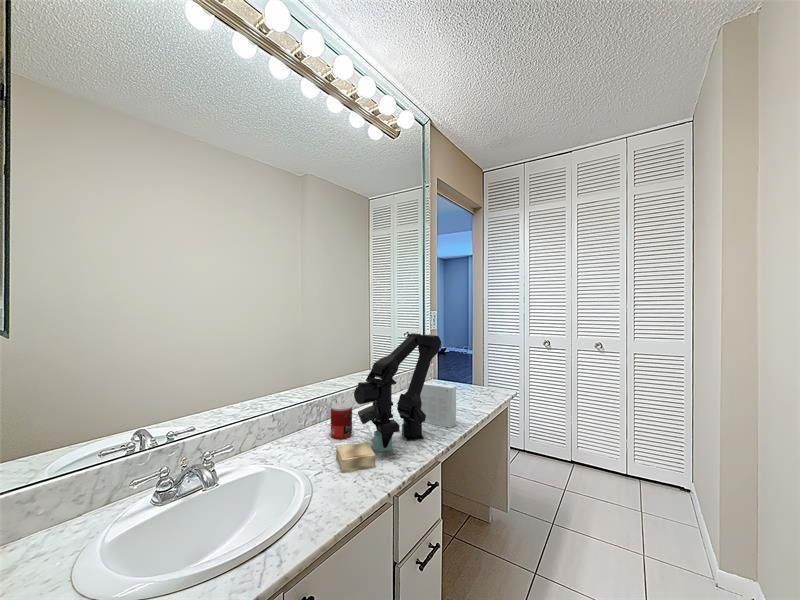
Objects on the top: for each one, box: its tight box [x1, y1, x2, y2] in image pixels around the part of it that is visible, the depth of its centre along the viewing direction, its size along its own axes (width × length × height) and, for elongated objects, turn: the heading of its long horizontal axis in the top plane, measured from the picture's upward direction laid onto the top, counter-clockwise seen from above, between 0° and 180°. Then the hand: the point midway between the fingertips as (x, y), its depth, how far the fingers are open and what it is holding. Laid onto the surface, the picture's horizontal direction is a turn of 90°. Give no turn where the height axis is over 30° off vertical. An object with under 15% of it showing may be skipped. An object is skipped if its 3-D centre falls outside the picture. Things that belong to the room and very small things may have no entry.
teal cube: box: [373, 430, 393, 452], centre depth 114 cm, size 5×5×5 cm
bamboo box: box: [335, 441, 377, 474], centre depth 103 cm, size 10×10×4 cm
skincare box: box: [406, 380, 457, 429], centre depth 141 cm, size 21×5×16 cm, turn 58°
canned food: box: [330, 402, 353, 440], centre depth 125 cm, size 8×8×11 cm
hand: (382, 444), depth 114 cm, fingers closed on teal cube, 5 cm apart
